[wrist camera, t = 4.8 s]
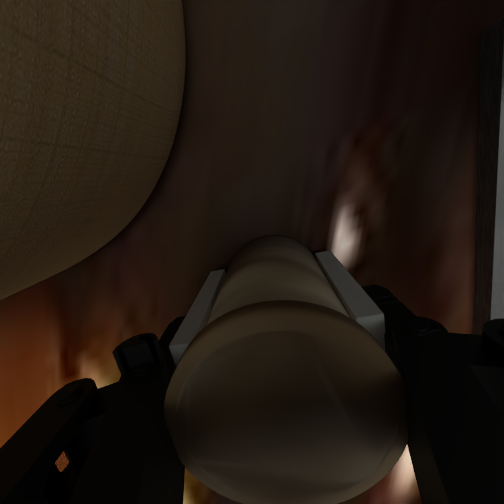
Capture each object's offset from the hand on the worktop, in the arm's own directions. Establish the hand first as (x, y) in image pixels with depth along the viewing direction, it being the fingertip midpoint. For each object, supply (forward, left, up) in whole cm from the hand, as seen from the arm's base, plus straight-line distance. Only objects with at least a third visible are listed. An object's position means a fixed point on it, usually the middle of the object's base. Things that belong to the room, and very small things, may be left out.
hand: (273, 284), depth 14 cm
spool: (0, 0, -1) cm, 1 cm away
